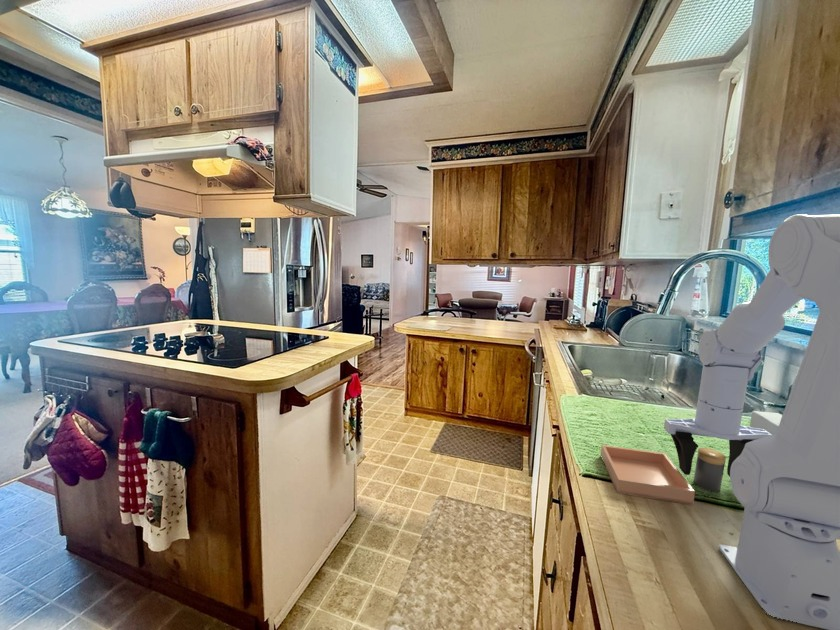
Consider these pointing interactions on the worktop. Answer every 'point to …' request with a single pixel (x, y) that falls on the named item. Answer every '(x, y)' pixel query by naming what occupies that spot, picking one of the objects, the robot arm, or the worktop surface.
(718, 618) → the worktop surface
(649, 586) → the worktop surface
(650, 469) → the dish
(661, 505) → the worktop surface
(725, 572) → the worktop surface
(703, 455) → the cell
